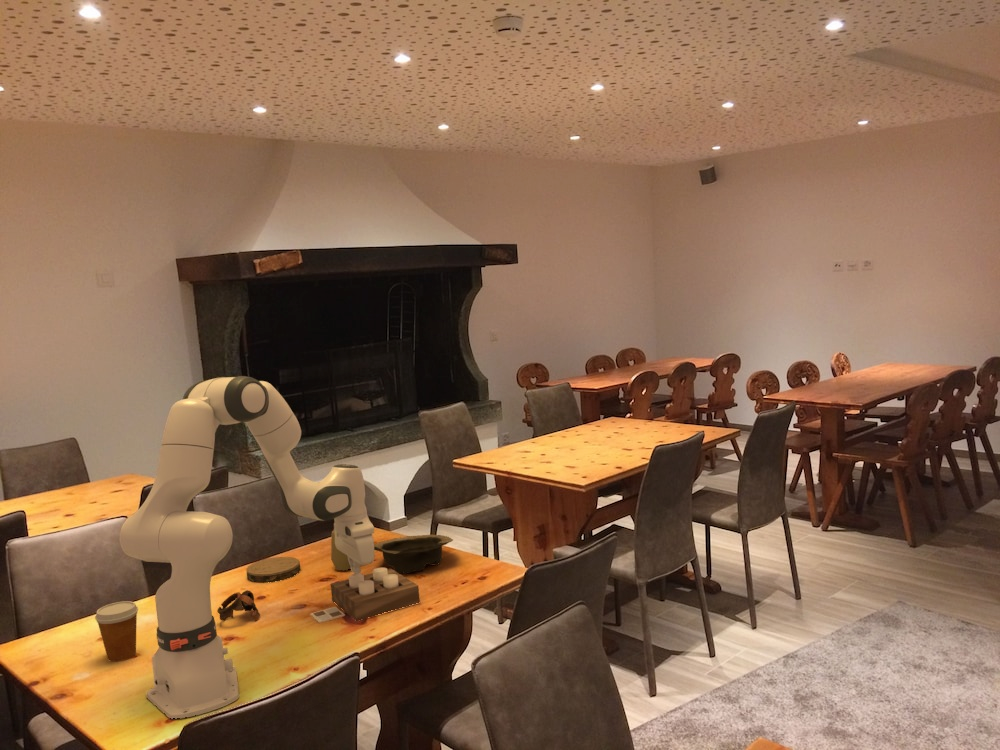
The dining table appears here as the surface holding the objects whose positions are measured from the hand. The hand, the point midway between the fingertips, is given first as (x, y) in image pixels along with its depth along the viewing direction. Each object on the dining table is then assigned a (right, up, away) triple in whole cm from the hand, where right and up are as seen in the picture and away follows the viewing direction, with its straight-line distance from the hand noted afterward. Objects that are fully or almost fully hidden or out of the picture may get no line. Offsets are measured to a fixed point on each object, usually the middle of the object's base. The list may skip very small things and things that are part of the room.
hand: (355, 572), depth 222 cm
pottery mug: (-29, -11, -5) cm, 32 cm away
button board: (+5, -8, 0) cm, 10 cm away
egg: (0, -6, 0) cm, 6 cm away
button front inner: (+4, -6, -6) cm, 9 cm away
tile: (-6, -10, -7) cm, 13 cm away
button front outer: (+10, -6, -2) cm, 12 cm away
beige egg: (+6, -5, +4) cm, 9 cm away
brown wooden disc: (-30, -8, +29) cm, 43 cm away
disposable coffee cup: (-53, -15, -24) cm, 60 cm away
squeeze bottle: (-8, -6, +30) cm, 32 cm away
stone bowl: (+13, -5, +30) cm, 33 cm away
